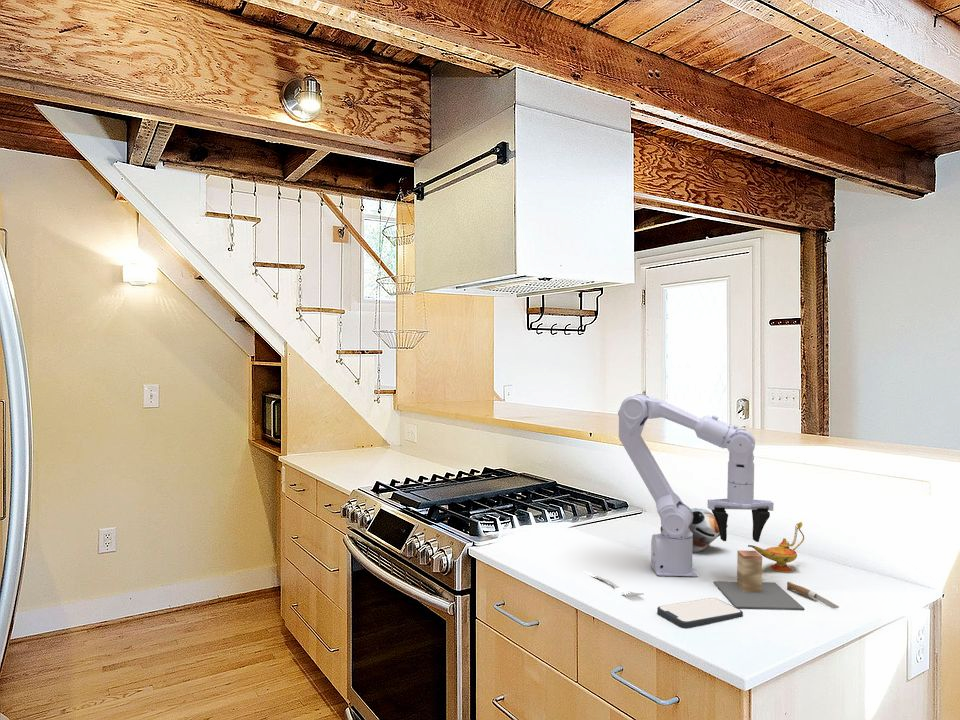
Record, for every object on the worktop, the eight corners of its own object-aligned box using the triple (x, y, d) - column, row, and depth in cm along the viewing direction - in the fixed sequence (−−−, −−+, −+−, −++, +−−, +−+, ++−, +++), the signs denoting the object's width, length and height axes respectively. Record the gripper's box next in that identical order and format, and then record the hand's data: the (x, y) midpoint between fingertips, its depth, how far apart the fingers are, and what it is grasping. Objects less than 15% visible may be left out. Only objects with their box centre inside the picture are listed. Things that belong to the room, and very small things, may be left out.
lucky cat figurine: (704, 539, 189) (726, 501, 183) (714, 568, 178) (738, 529, 172) (654, 524, 188) (675, 485, 182) (661, 552, 177) (683, 512, 171)
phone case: (714, 604, 143) (654, 614, 137) (714, 596, 143) (654, 606, 137) (745, 620, 135) (683, 631, 129) (746, 612, 135) (684, 623, 129)
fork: (580, 567, 165) (580, 560, 165) (645, 601, 144) (645, 593, 144) (569, 569, 164) (569, 561, 164) (633, 603, 142) (633, 595, 142)
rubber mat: (735, 608, 139) (736, 606, 139) (713, 582, 154) (713, 581, 154) (804, 610, 139) (804, 608, 139) (774, 584, 154) (774, 582, 154)
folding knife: (842, 611, 139) (842, 602, 139) (836, 613, 138) (836, 603, 138) (789, 589, 151) (790, 580, 151) (784, 590, 151) (784, 581, 151)
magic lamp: (737, 569, 164) (738, 524, 164) (792, 561, 171) (793, 518, 170) (758, 578, 157) (759, 532, 157) (814, 569, 164) (815, 524, 164)
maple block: (743, 591, 148) (743, 555, 147) (736, 585, 152) (737, 550, 151) (761, 592, 147) (762, 556, 147) (754, 585, 151) (755, 550, 151)
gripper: (714, 485, 152) (713, 544, 152) (779, 486, 151) (778, 546, 151) (705, 479, 159) (704, 535, 159) (767, 480, 158) (766, 537, 159)
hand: (739, 540), depth 156 cm, fingers open, 7 cm apart
